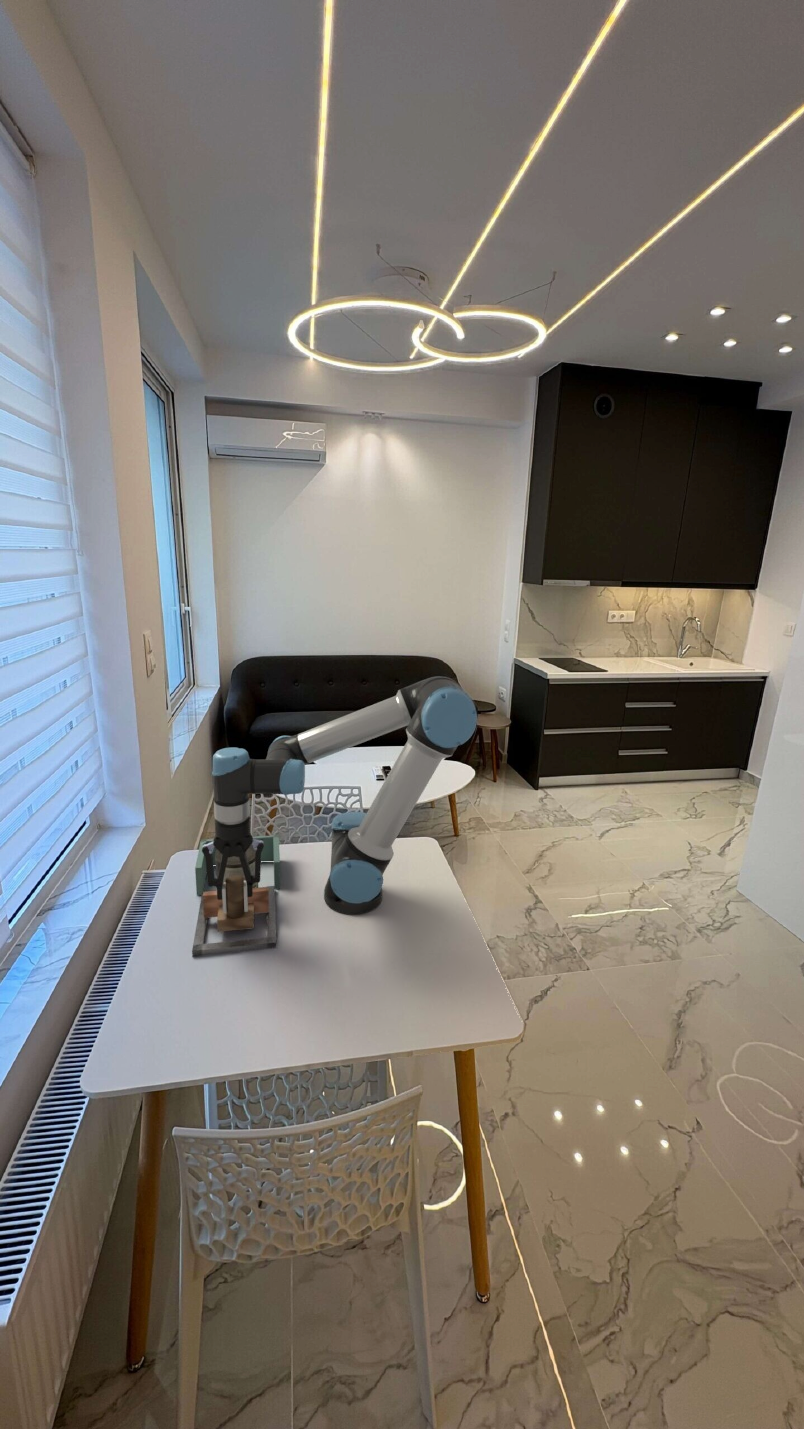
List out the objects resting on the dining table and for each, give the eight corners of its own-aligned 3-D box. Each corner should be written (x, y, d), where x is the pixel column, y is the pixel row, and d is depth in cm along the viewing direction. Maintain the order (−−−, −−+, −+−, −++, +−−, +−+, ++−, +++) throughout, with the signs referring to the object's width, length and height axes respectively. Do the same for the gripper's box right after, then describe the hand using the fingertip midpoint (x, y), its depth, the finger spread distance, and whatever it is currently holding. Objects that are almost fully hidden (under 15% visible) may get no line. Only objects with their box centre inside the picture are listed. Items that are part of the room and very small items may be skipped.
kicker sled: (268, 908, 143) (268, 864, 140) (269, 926, 136) (268, 881, 133) (204, 913, 140) (202, 869, 137) (201, 933, 133) (199, 886, 130)
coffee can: (208, 904, 147) (205, 854, 143) (241, 886, 155) (239, 838, 151) (235, 920, 141) (233, 868, 137) (267, 901, 149) (267, 851, 145)
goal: (278, 860, 169) (278, 835, 166) (280, 888, 155) (279, 861, 153) (202, 865, 164) (200, 839, 162) (196, 895, 150) (195, 867, 148)
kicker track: (274, 890, 154) (274, 885, 154) (276, 948, 132) (276, 942, 132) (202, 896, 150) (202, 891, 149) (192, 956, 128) (192, 950, 128)
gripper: (271, 807, 135) (272, 896, 141) (193, 812, 130) (198, 903, 137) (272, 822, 128) (273, 915, 134) (189, 827, 123) (195, 923, 130)
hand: (235, 909), depth 135 cm, fingers closed on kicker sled, 4 cm apart
